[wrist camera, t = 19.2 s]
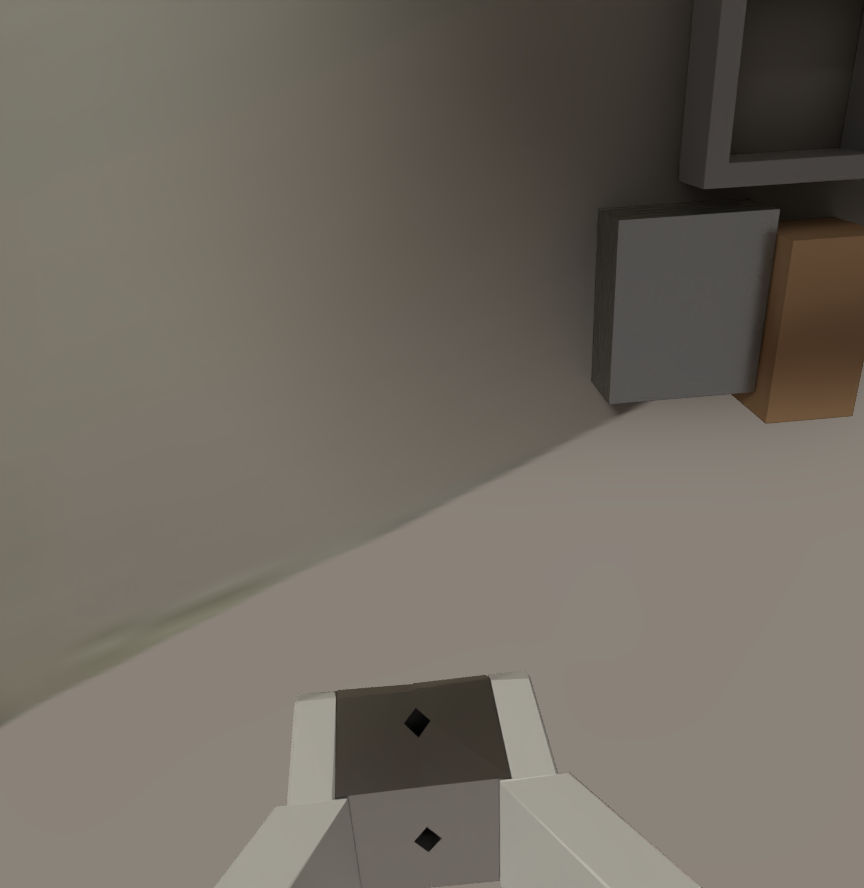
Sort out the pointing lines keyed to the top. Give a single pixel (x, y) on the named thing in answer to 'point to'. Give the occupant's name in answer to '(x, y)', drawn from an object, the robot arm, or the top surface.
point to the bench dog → (812, 323)
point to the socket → (714, 110)
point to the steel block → (681, 298)
